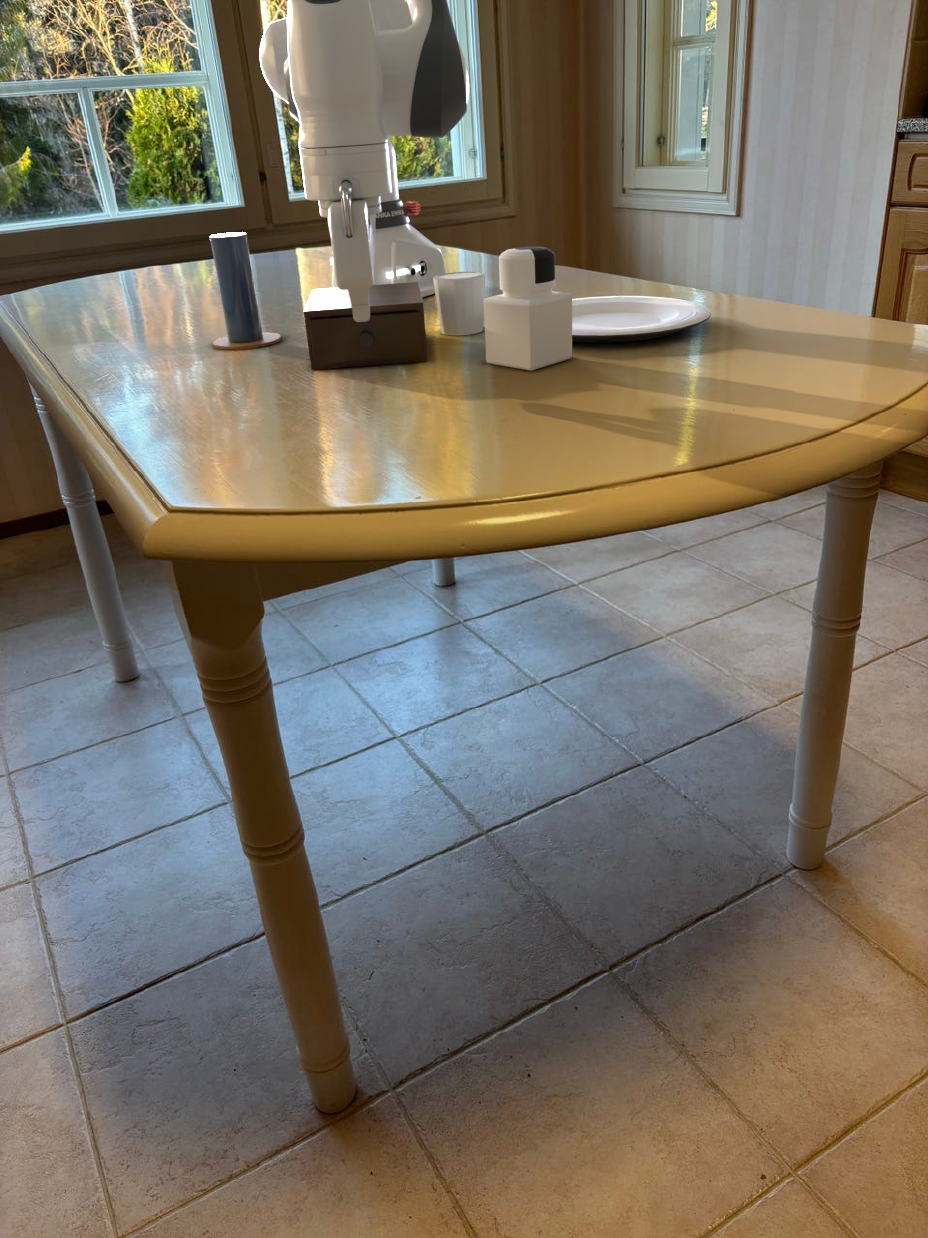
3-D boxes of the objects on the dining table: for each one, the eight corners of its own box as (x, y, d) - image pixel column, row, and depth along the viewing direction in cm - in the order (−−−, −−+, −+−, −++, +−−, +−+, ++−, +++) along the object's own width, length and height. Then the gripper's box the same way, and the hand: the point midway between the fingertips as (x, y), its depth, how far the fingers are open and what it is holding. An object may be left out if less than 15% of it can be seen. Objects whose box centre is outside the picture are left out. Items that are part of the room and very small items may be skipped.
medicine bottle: (526, 351, 106) (524, 242, 101) (573, 358, 102) (573, 245, 96) (484, 363, 102) (479, 250, 96) (531, 371, 98) (529, 253, 92)
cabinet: (427, 361, 105) (423, 302, 102) (311, 369, 104) (303, 310, 101) (422, 334, 118) (418, 281, 115) (319, 341, 118) (312, 289, 115)
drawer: (422, 358, 102) (419, 314, 100) (314, 366, 102) (308, 322, 99) (417, 331, 116) (414, 292, 114) (322, 338, 115) (316, 299, 113)
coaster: (257, 332, 126) (256, 329, 126) (294, 339, 120) (293, 336, 120) (200, 344, 121) (200, 341, 120) (236, 352, 115) (236, 349, 115)
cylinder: (251, 334, 123) (233, 231, 117) (269, 337, 120) (253, 233, 114) (221, 340, 120) (202, 236, 114) (240, 344, 117) (221, 237, 111)
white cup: (482, 335, 115) (480, 278, 112) (431, 336, 117) (427, 280, 113) (492, 324, 121) (489, 270, 118) (442, 325, 123) (439, 271, 119)
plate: (649, 302, 129) (650, 288, 128) (750, 333, 108) (752, 317, 107) (486, 323, 123) (485, 308, 122) (559, 359, 102) (559, 342, 101)
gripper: (378, 182, 82) (392, 337, 88) (378, 169, 99) (390, 299, 106) (308, 187, 81) (328, 342, 88) (321, 173, 99) (337, 303, 106)
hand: (362, 319), depth 97 cm, fingers closed
